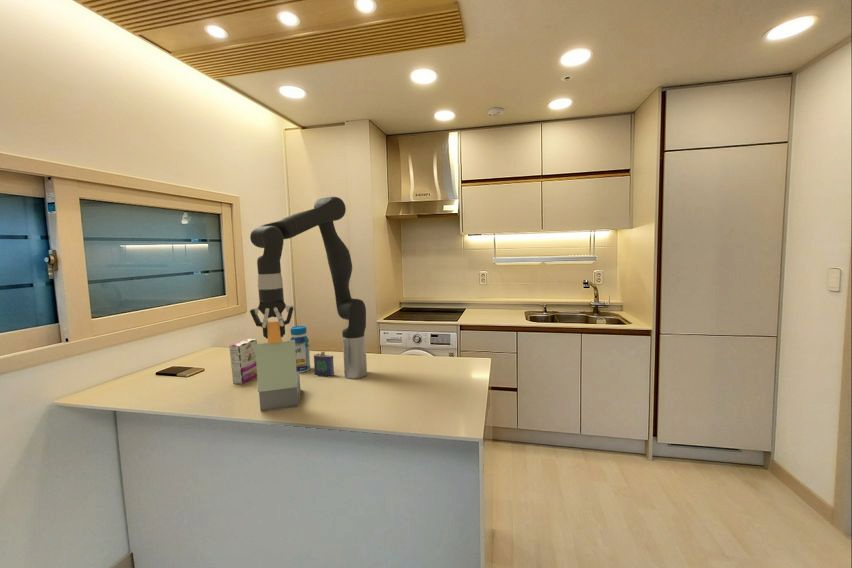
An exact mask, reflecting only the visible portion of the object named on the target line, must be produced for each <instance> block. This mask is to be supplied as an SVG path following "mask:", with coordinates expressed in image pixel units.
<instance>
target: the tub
mask: <svg viewBox="0 0 852 568" xmlns="http://www.w3.org/2000/svg"><path fill="white" fill-rule="evenodd" d="M300 374H301V373H299V372H297V387H294V388H286V389H278V390H270V391H263V392H258V397H259V409H260V411H263V412H269V410H270V411H275V410H276V409H277V410H283V408H284V409H289V408H290V407H292V408H297V407H299V404H300V403H299V402H300V396H301V377H300ZM290 409H291V408H290ZM277 410H276V411H277Z"/></svg>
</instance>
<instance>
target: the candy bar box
mask: <svg viewBox="0 0 852 568" xmlns="http://www.w3.org/2000/svg"><path fill="white" fill-rule="evenodd" d="M255 344H258V342H257V338H247V339H243V340H241V341H238V342H236V343H233V344H230V345H229V355H230V357H229V358H230V365H231V375H232V384H234V385H244V384H246V383H247V382H249V381H251V380H252V379H254V378H257V364H256V345H255ZM245 382H246V383H245Z"/></svg>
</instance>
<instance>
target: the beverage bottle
mask: <svg viewBox="0 0 852 568" xmlns="http://www.w3.org/2000/svg"><path fill="white" fill-rule="evenodd" d="M307 333H308V332H307V326H306V325H294V326H291V327H290V334H291V337H290V340H289V341H291V340H295V352H296V371H297V372H299V374H301V373H305V371H306V372H308V371H310V370H311V359H310V358H311V357H310V349H311V348H310V344H309V342H310V339H309V338H308V335H307Z"/></svg>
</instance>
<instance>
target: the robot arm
mask: <svg viewBox="0 0 852 568" xmlns="http://www.w3.org/2000/svg"><path fill="white" fill-rule="evenodd" d="M346 211H347V208H346V205H345V202H344V200H343V199H341V198H340V197H337V196H329V197H328V196H327V197H323V198H319V199H317V200H315V202H314V205H313V208H311V209H309V210H308V209H307V210H304V211H300V212H297V213H293V214H291V215H288V216H286V217H283V218H281V219H279V220H276V221H273V222H269V223H266V224H262V225H259V226H257V227H255V228H253V230H252V231H251V232H250V234H249V235H250V237H249V238H250V242H251V244H252V245H253V246H255V247H257V248H259V249H260V248H261V249H263V254H262V255H260V256H258V257H257V259H256V260H257V261H256V266H257V289H258V300H259V301H258V302H259V303H258V306H257V307H254V308H252V309H250V310H249V313H250V314H251V317H252V319H253V321H254V323H255V325H256V327H260V328H262V335H263V337H264V338H265V339H267V340H268V333H267V322H269V318H277V321H279V323H280V336H281V337H282V338H283V337H284V336H285V334H286V325H289V324H290V322H291V319H292V316H293V311H294V309H295V307H294V305H291V306H290V305H287V304H286V303H285V298H284V284H283V282H284V281H283V277H282V276H283V275H282V267H281V265H282V264H281V259H282V253H283V248H284V240H288V239H292V238H294V237H296V236H298V235H300V234H303V233H304V232H307V231H309V230H311V229H313V228H315V227H318V228H319V231H320V234H321V239H322V241H323V246H324V249H325V253H326V254H325V255H326V258H327V263H328V268H329V271H330V272H329V273H330V275H331V279H332V280H331V281H332V285H333V289H334V296H335V297H334V298H335V305H336V310H337V314H338V316H339V317H340V318H341V319H343V320H347V321H348V325H347V326H348V327H346V328H344V329H342V333H341V334H342V336H341V337H342V353H343V370H344V371H343V372H344V377H345V378H346V379H353V380H355V379H360V378H363V377H367V376H368V367H367V366H368V365H367V353H366V340H365V339H366V337H365V332H366V327H367V308H366V304H365V302H364V301H363V300H362V299H359V298H353V297H352V295H351V291H350V281H351V280H350V279H351V277H352V272H353V263H352V259H351V254H350V250H349V248H348V247H347V245H346V244H345V243H344V242H343V241H344V240H342V239H341V237H340V236H339V235H338V233H337V231H336V227H335V223H334V222H336V221H339V220H341V219H342V218H343V217H344V216H345V214H346V213H347V212H346ZM285 309H286V312H287V317H286V319H285V320H284V317H283V314H282V313H283V312H284V310H285ZM259 311H260V313H262V315H263V318H262V319H263V320H262V321H261V319H260V317H259V315H258V314H259Z"/></svg>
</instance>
